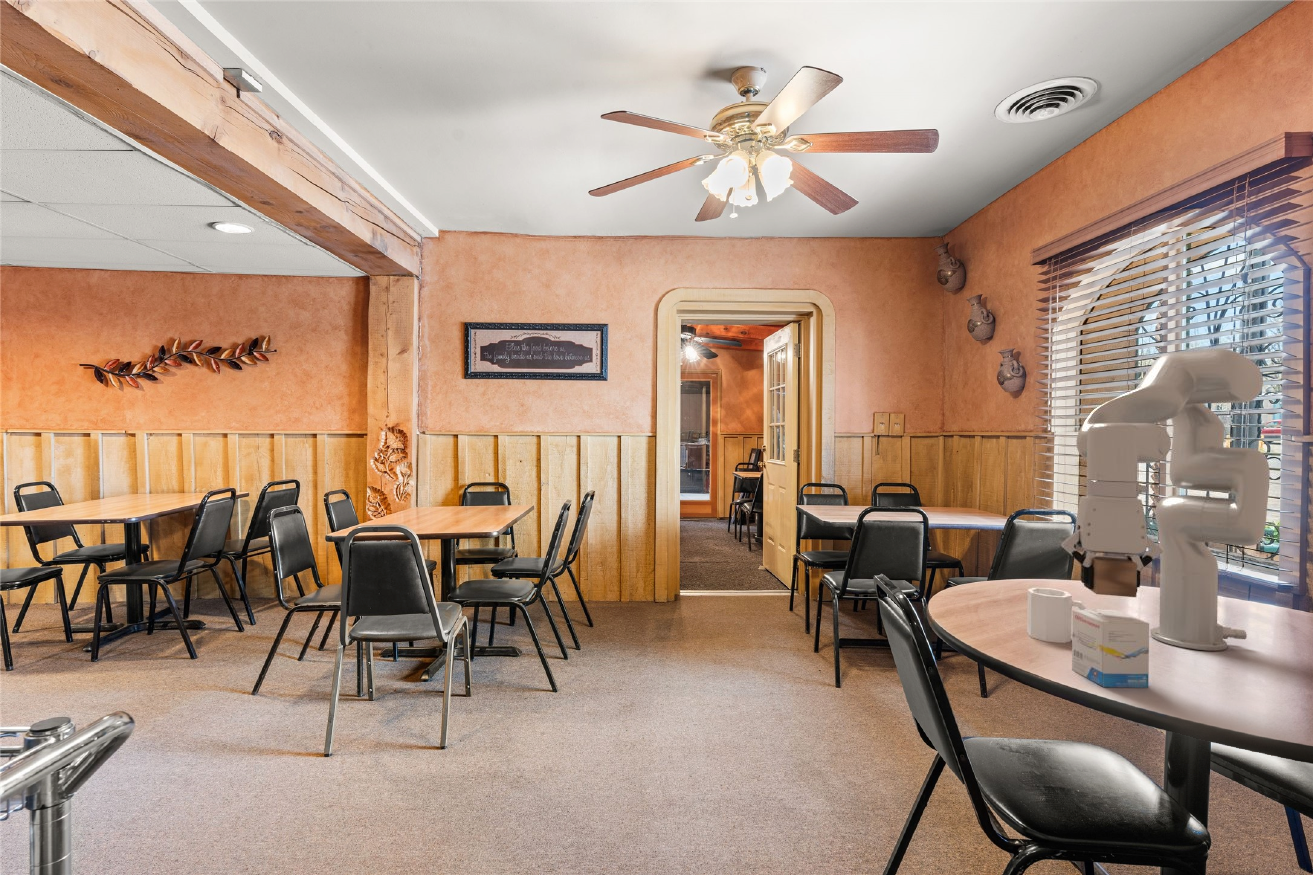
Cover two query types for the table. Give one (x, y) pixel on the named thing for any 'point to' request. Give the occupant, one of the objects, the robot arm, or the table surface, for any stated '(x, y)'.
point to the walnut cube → (1114, 576)
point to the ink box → (1110, 648)
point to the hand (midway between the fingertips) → (1109, 588)
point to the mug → (1050, 614)
